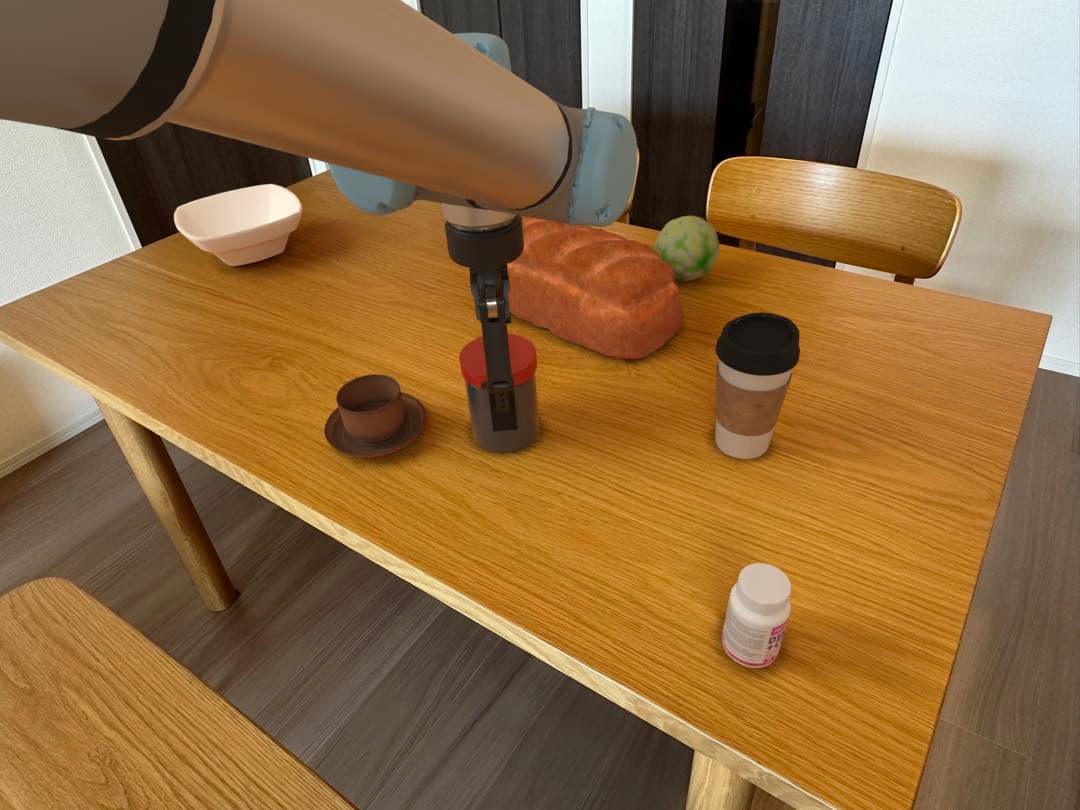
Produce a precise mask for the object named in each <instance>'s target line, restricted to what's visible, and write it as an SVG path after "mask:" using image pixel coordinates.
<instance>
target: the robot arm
mask: <svg viewBox="0 0 1080 810" xmlns="http://www.w3.org/2000/svg"><path fill="white" fill-rule="evenodd" d="M509 50H510V49H509V47H508V44H507V43H506V42H505V40H504V39H502V37H500V36H498V35H495V34H492V33H487V32H459V33H453V32H450V31H449V30H448V29H446V28H445V27H443V26H441V24H438V23H437V22H435V21H434V20H432V19H431V18H429V17H427V16H426V15H424V14H423V13H422V12H420V11H419V10H417V9H415V8H414V7H412V6H411V5H410V4H408V3H406V2H405V1H403V0H0V120H2V121H9V122H10V121H11V122H16V123H22V124H29V125H34V126H40V127H45V128H52V129H57V130H62V131H67V132H71V133H75V134H76V133H77V134H79V135H80V134H81V135H84V136H90V137H92V138H98V139H99V138H100V139H104V140H112V141H127V140H128V141H129V140H133V139H136V138H140V137H142V136H145V135H148V134H149V133H151V132H153V131H154V130H157V129H158V128H160V127H162V125H164V124H165V123H166V122H167V123H171V124H176V125H179V126H182V127H186V128H191V129H195V130H198V131H202V132H206V133H210V134H214V135H218V136H221V137H224V138H225V137H226V138H229V139H234V140H237V141H240V142H245V143H249V144H251V145H252V144H253V145H256V146H260V147H265V148H268V149H272V150H276V151H280V152H283V153H287V154H292V155H296V156H299V157H303V158H307V159H311V160H314V161H318V162H322V163H326V164H328V167H329V172H330V176H331V178H332V179H333V181H334V183H335V185H336V187H337V189H338V190H339V191H340V193H341V194H342V195H343V196H344V197H345V199H346V200H347V201H348V202H349V203H351V204H352V205H353V206H355V207H356V209H359V210H361V211H362V212H364V213H367V214H369V215H374V216H386V215H390V214H392V213H395V212H397V211H399V210H400V211H401V210H406V208H409V207H411V206H412V204H413V203H414V202H416V201H427V202H433V203H438V204H440V207H441V214H442V217H443V219H444V220H445V222H444V232H445V239H446V245H447V252H448V256H449V258H450V259H451V261H453V262H454V263H455V264H456V265H459V266H461V267H464V268H468V269H469V285H470V293H471V294H472V296H473V298H474V308H475V309H474V310H475V318H476V320H477V321H479V322H480V325H481V333H482V336H483V343H484V352H485V361H486V370H487V382H481V388H482V389H483V388H487V390H488V394H489V402H490V410H491V418H492V426H493V432H498V431H508V430H518V427H517V416H516V405H515V395H514V382H513V377H512V374H511V363H510V353H509V343H508V334H509V332H508V325H509V324H512V323H513V321H512V313H510V307H509V297H508V292H509V291H510V282H509V275H508V267H507V264H508V263H511V262H513V261H515V260H516V259H517V258H519V257H520V255H521V254H522V252H523V250H524V237H523V224H522V217H521V216H526V217H532V218H538V219H543V220H549V221H555V222H560V223H566V224H569V225H572V226H575V225H586V226H590V227H597V228H606V227H609V226H611V225H613V224H614V223H615V222H617V221H618V220H619V219H620V218H621V216H622V215H623V214H624V212H625V210H626V209H627V206H628V204H629V203H630V202H629V201H630V199H631V197H632V193H633V189H634V186H635V180H636V175H637V170H638V169H637V168H638V141H637V136H636V132H635V129H634V127H633V124H632V123H631V122H630V120H629V119H628V118H627V117H626V116H624V115H623V114H620V113H615V112H609V111H604V110H597V109H596V108H595V107H591V106H588V107H587V108H576V107H570V106H566V105H563V104H561V103H560V102H558V101H556V100H555V99H553V98H552V97H550V96H548V95H546V94H545V93H544V92H542V91H540V90H539V89H538V88H536V87H534V86H533V85H531V84H529V83H528V82H527V81H525V80H523V79H522V78H520V77H519V76H518V75H516V74H514V73H513V72H512V65H511V58H510V51H509Z"/></svg>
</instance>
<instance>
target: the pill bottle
mask: <svg viewBox="0 0 1080 810" xmlns="http://www.w3.org/2000/svg"><path fill="white" fill-rule="evenodd" d="M791 593H792V583H791V580H790V578H789V576H788V575H786V573H785V572H784V571H783V570H782V569H780V568H779V567H777V566H775V565H773V564H770V563H766V562H755V563H750V564H747V565H746V566H745V567H743V568H742V569H741V571H740V572H739V575H738V579H737V582H736V583H735V584H734V585H733V587H732V588H731V590H730V594H729V597H728V602H727V609H726V613H725V617H724V618H725V619H724V623H723V628H722V631H721V643H722V647H723V649H724V651H725V653H726V654H727V656H728V657H730V658H731V659H732V660H733V661H735V663H738V664H739V665H741V666H744V667H746V668H749V669H750V668H751V669H761V668H764V667H768V666H770V665H771V664H772V663H773V662H774V661H775V660H776V659H777V657H778V655H779V653H780V650H781V647H782V642H783V640H784V637H785V633H786V630H787V626H788V622H789V619H790V616H791V612H792V604H791V598H790V597H791Z"/></svg>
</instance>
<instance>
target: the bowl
mask: <svg viewBox="0 0 1080 810" xmlns="http://www.w3.org/2000/svg"><path fill="white" fill-rule="evenodd" d="M303 209H304V208H303V205H302V203H301V201H300V199H299V198H298V196H297V195H296V194H294V193H293V192H292V191H291V190H289V189H287V188H285V187H284V186H281V185H277V184H274V183H267V184H260V185H253V186H248V187H243V188H238V189H234V190H229V191H224V192H220V193H217V194H216V193H215V194H212V195H209V196H206V197H201V198H198V199H196V200H193V201H189V202H187V203H185V204H181V205H179V206H177V207H176V209H175V211H174V213H173V221H174V225H175V227H176V229H177V230H178V231H179V232H180V234H182V235H183V236H184V237H185V239H187V240H189V241H190V242H191V243H192V244H193V245H195V246H196V247H197V248H199V249H200V250H202V251H204V252H207V253H209V254H213V255H214V256H215V257H217V258H218V259H219V260H220V261H221V262H223V263H224V264H226V265H228V266H229V267H238V266H243V265H248V264H253V263H257V262H260V261H264V260H266V259H269V258H272V257H274V256H277V255H280V254H282V253H284V251H285V250H286V245H287V243H288V240H289V236H290V234H291V233H292V232H294V231H295V230H297V228H298V226H299V223H300V220H301V217H302V214H303Z"/></svg>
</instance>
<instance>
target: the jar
mask: <svg viewBox="0 0 1080 810" xmlns="http://www.w3.org/2000/svg"><path fill="white" fill-rule="evenodd" d="M464 385H465V392H466V398H467V406H468V412H469V419H470V426H471V433H472V438H473V440H474V442H475V443H476V444H477V445H478V446H479V447H480V448H482V449H483V450H486V451H488V452H491V453H495V454H496V453H497V454H508V453H515V452H518V451H521V450H523V449H526V448H527V447H529V446H530V445H532V444H533V443H534V442H535V441H536V440H537V438H538V436H539V434H540V420H539V419H540V418H539V406H538V390H537V376H536V372H535V373H534V374H533V376H532V377H531V378H530V379H529V380H527V381H526V382H524V383H522V384H520V385H518V386H515V387H514V395H515V405H516V416H517V427H518V430H508V431H498V432H493V426H492V418H491V410H490V402H489V394H488V390H487V389H482V388H478V387H475V386H473V385H471V384H470V383H468V382H467V381H466V380H465V379H464Z"/></svg>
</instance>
